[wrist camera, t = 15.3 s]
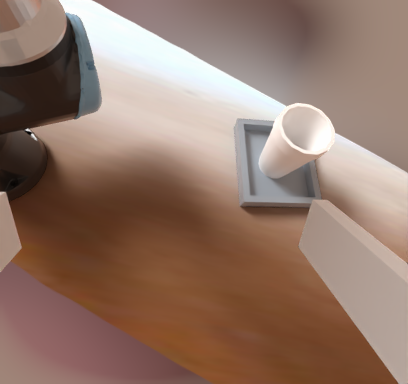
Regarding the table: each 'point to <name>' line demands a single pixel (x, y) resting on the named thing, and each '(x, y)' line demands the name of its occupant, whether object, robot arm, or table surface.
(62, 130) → the table surface
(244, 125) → the tray
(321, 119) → the foam cup
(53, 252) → the table surface
